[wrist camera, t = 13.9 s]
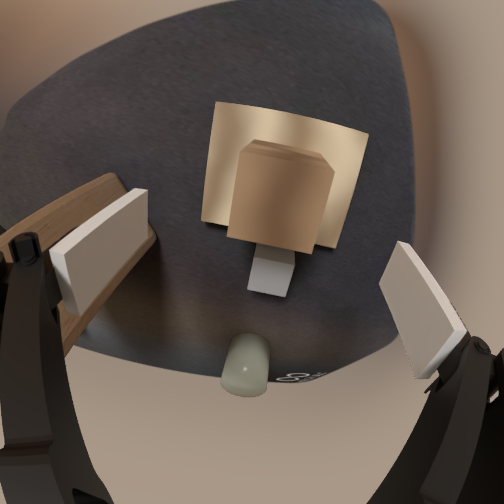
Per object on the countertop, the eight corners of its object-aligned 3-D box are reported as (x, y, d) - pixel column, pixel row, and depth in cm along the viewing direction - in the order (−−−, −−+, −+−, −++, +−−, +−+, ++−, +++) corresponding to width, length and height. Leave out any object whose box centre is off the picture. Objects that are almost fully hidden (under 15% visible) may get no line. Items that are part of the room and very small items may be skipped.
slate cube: (251, 268, 31) (247, 289, 28) (258, 238, 29) (253, 256, 26) (285, 275, 31) (285, 296, 28) (294, 245, 29) (294, 265, 26)
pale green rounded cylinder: (227, 355, 40) (218, 392, 34) (232, 329, 37) (222, 368, 31) (266, 362, 40) (261, 400, 33) (274, 337, 37) (271, 378, 30)
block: (162, 236, 31) (60, 370, 13) (113, 266, 34) (27, 375, 17) (116, 167, 27) (-29, 253, 10) (73, 208, 30) (-36, 294, 13)
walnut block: (243, 200, 26) (226, 236, 19) (254, 138, 23) (239, 151, 16) (305, 213, 26) (311, 254, 19) (320, 153, 23) (335, 171, 16)
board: (205, 215, 29) (201, 220, 27) (219, 102, 23) (215, 101, 21) (333, 241, 28) (335, 248, 27) (364, 132, 22) (368, 134, 21)
